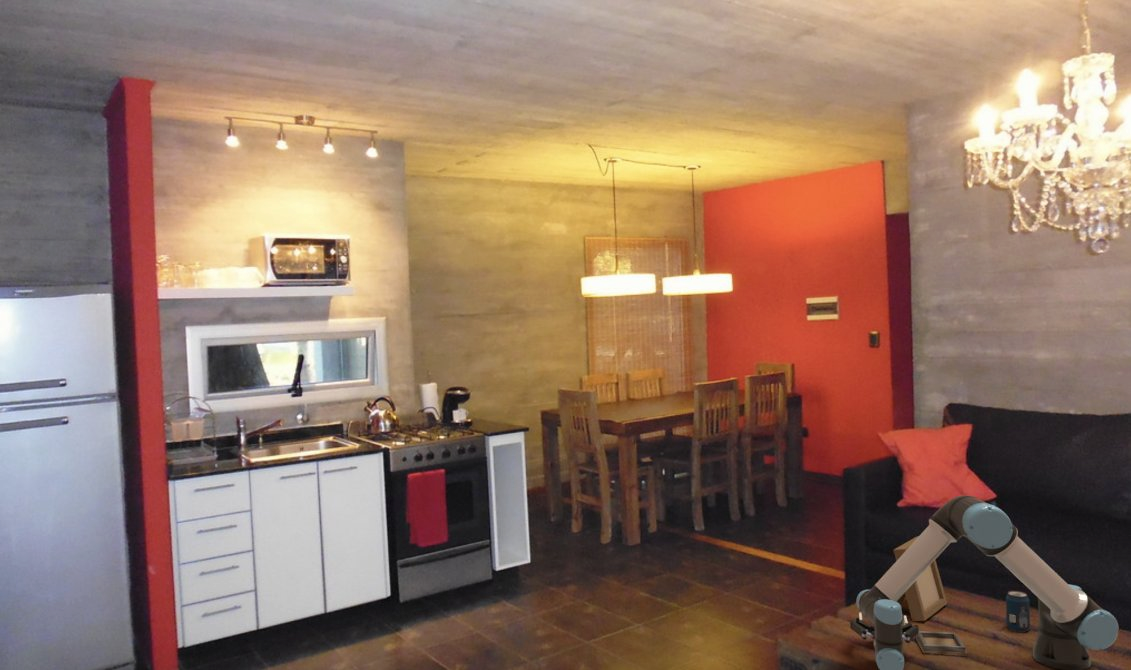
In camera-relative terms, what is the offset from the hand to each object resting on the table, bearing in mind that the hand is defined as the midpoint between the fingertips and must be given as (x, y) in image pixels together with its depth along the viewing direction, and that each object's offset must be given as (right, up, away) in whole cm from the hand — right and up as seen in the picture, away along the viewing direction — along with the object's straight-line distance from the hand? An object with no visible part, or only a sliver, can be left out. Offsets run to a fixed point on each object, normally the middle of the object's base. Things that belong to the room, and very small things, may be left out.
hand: (882, 618), depth 272 cm
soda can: (+49, -7, +8) cm, 50 cm away
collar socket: (+17, -8, -4) cm, 19 cm away
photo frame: (+23, -7, +29) cm, 37 cm away
